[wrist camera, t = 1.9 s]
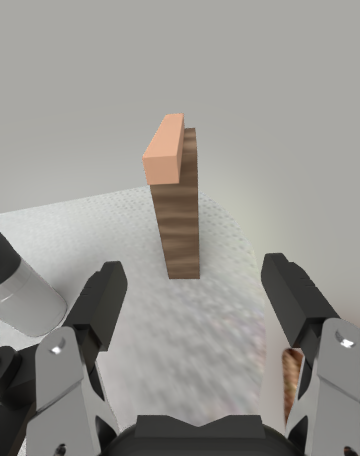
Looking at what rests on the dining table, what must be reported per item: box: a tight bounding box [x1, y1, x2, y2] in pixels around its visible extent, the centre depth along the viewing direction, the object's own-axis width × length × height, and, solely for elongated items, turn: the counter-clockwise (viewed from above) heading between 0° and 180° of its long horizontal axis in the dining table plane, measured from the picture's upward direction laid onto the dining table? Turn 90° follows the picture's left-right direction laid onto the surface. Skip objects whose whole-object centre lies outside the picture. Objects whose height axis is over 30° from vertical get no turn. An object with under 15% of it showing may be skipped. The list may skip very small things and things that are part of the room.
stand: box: [150, 128, 200, 279], centre depth 43 cm, size 16×8×32 cm, turn 178°
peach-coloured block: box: [142, 113, 185, 185], centre depth 28 cm, size 24×4×3 cm, turn 178°
